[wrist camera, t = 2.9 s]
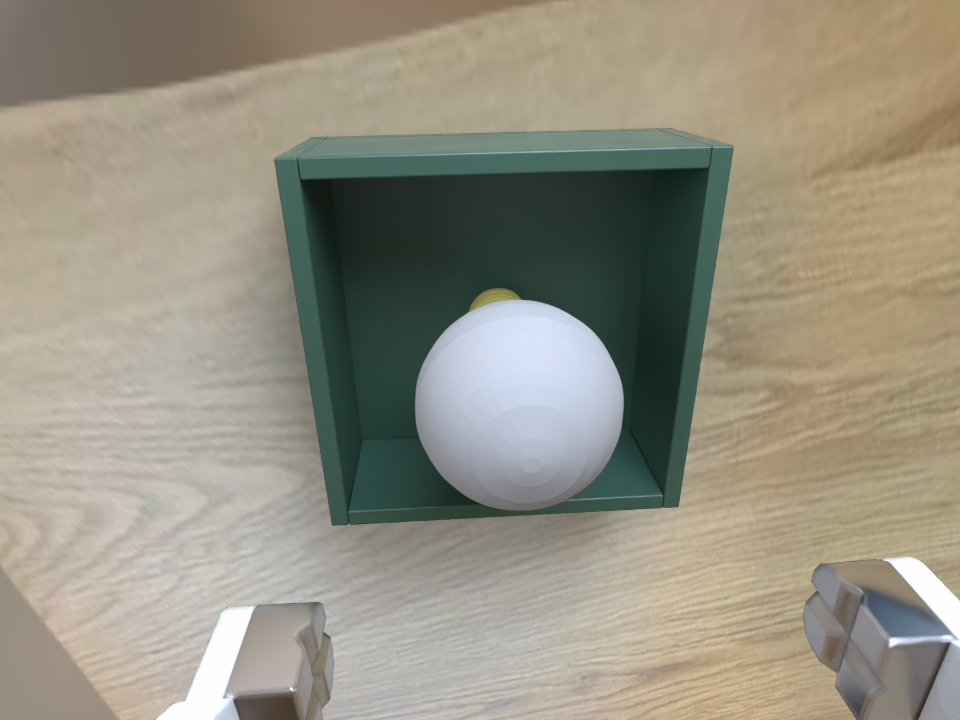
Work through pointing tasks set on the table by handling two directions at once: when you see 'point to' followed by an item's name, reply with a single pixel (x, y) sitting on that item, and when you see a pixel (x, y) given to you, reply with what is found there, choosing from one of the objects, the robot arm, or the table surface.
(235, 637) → the robot arm
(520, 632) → the table surface
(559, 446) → the light bulb
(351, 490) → the green open square box
